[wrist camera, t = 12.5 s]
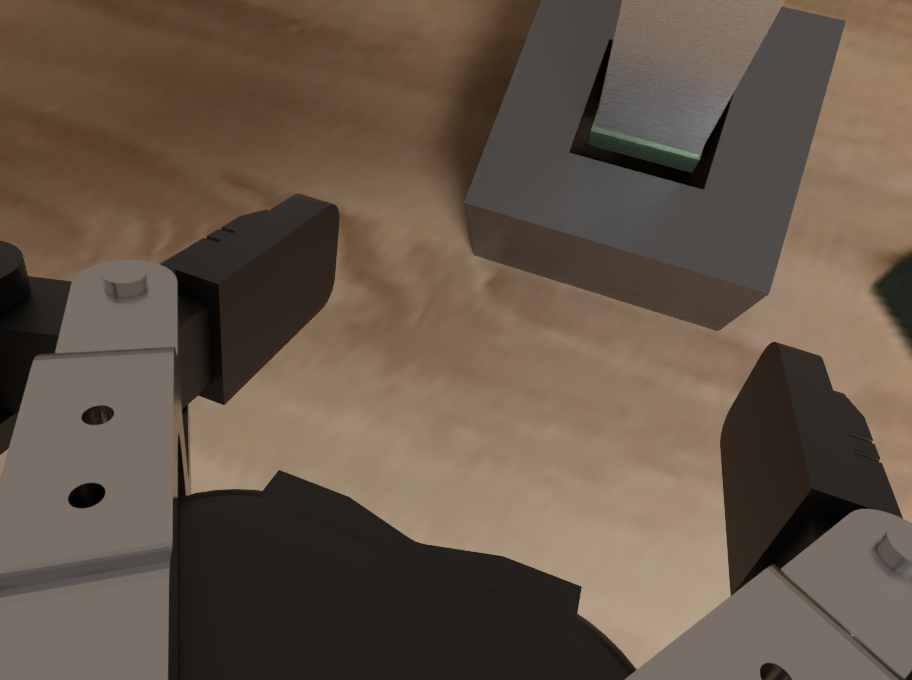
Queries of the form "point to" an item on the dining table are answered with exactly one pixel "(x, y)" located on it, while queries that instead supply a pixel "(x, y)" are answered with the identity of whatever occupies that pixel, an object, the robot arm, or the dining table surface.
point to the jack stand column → (675, 74)
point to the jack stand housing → (641, 195)
